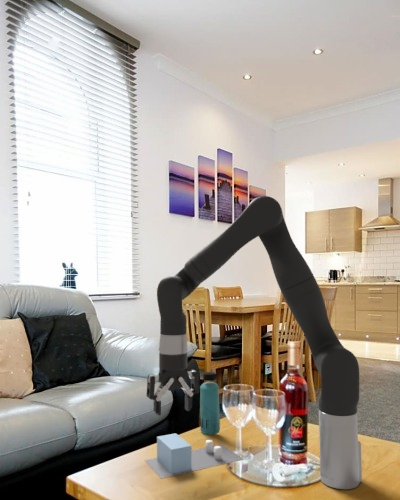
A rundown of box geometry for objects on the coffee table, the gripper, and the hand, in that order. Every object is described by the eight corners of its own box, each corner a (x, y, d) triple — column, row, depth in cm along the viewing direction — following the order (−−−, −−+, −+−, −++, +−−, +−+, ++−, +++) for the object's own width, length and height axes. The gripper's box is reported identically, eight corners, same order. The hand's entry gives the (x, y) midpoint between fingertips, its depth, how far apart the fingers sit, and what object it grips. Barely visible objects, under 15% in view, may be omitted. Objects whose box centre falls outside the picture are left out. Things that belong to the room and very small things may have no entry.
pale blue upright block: (175, 455, 121) (175, 433, 121) (191, 469, 112) (191, 445, 112) (157, 459, 119) (156, 436, 119) (171, 474, 110) (171, 449, 110)
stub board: (221, 449, 129) (221, 433, 129) (243, 464, 118) (243, 447, 118) (144, 465, 118) (144, 448, 118) (161, 484, 107) (161, 466, 107)
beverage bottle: (222, 433, 142) (221, 370, 143) (217, 440, 135) (216, 375, 136) (203, 431, 143) (202, 369, 145) (197, 438, 137) (196, 374, 138)
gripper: (153, 355, 110) (153, 420, 109) (203, 350, 117) (203, 412, 116) (143, 350, 117) (143, 412, 116) (191, 346, 124) (191, 405, 123)
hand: (173, 412), depth 116 cm, fingers open, 8 cm apart
